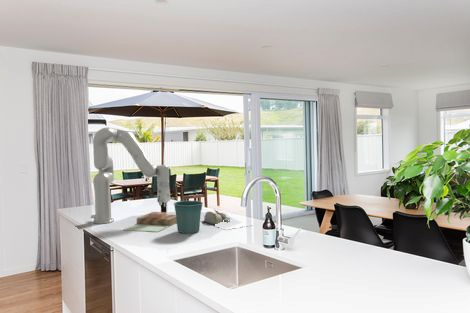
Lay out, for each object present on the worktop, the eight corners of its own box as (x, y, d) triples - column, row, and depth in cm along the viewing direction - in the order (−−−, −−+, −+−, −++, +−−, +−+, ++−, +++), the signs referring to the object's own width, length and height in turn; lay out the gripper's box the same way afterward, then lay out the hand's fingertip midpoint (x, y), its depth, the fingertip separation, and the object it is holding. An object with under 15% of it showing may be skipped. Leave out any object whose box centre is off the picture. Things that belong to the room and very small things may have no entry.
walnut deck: (136, 224, 234) (136, 217, 233) (148, 219, 247) (148, 213, 247) (169, 226, 228) (169, 219, 227) (179, 221, 241) (179, 215, 241)
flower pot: (209, 229, 217) (208, 201, 217) (191, 236, 203) (191, 206, 203) (186, 226, 226) (185, 199, 225) (167, 232, 212) (167, 204, 211)
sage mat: (123, 230, 219) (123, 229, 219) (136, 224, 233) (136, 224, 233) (157, 232, 213) (157, 231, 213) (169, 226, 227) (169, 225, 227)
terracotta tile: (148, 217, 235) (148, 213, 234) (153, 215, 240) (153, 211, 240) (162, 218, 232) (161, 214, 232) (166, 216, 238) (166, 212, 238)
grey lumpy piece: (197, 209, 242) (223, 206, 254) (197, 221, 243) (223, 217, 254) (226, 217, 216) (253, 213, 227) (226, 231, 216) (253, 226, 228)
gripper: (163, 185, 235) (163, 215, 236) (173, 183, 250) (174, 211, 251) (152, 185, 237) (152, 214, 238) (163, 182, 252) (163, 210, 253)
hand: (163, 212), depth 244 cm, fingers closed
